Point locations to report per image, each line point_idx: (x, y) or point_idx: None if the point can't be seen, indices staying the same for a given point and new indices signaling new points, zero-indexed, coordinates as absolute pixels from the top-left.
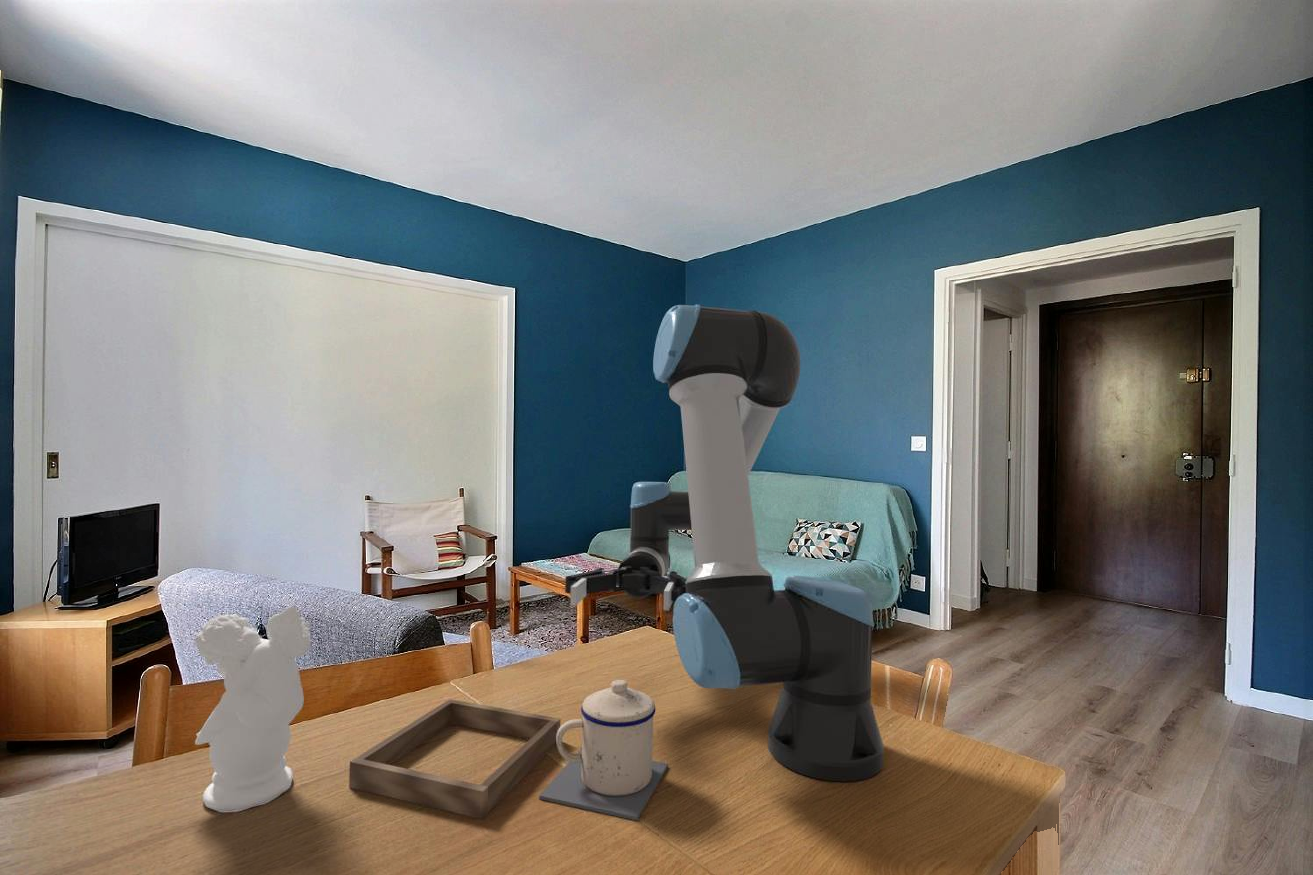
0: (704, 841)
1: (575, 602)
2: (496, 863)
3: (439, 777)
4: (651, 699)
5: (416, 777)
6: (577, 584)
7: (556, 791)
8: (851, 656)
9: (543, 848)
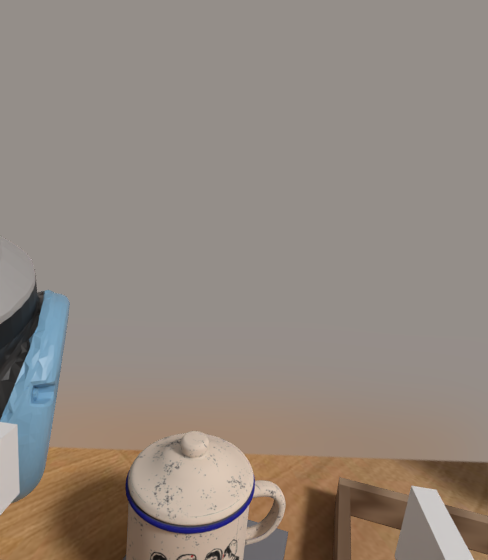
0: (100, 470)
1: (397, 545)
2: (290, 456)
3: (406, 500)
4: (132, 474)
5: None
6: (444, 539)
7: (268, 540)
8: None
9: (257, 468)
